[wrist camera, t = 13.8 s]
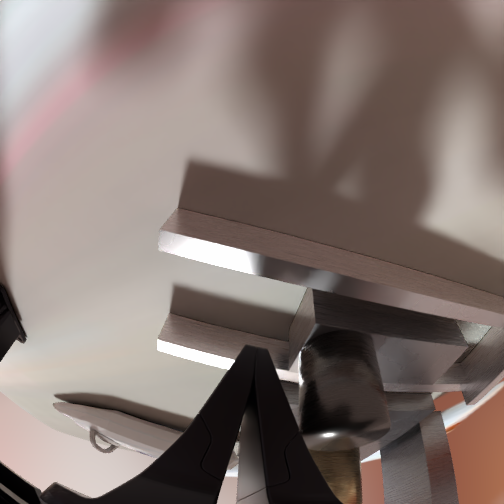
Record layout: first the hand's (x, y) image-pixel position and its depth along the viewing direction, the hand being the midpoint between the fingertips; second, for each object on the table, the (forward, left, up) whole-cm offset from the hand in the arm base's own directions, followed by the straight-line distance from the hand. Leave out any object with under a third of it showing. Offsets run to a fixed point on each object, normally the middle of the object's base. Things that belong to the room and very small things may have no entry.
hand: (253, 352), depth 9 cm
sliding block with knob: (+6, 0, -3) cm, 7 cm away
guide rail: (+5, 0, -3) cm, 6 cm away
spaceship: (-8, -22, -3) cm, 24 cm away
